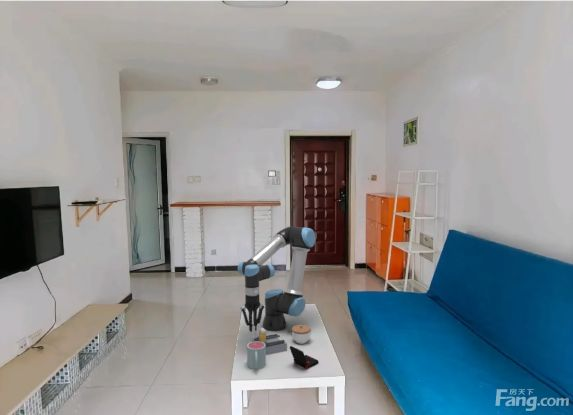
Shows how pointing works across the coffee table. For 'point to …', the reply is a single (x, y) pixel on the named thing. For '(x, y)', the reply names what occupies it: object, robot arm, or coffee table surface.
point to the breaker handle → (262, 335)
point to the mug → (256, 355)
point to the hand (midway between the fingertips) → (253, 336)
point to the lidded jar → (301, 333)
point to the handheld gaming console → (302, 358)
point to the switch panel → (274, 344)
